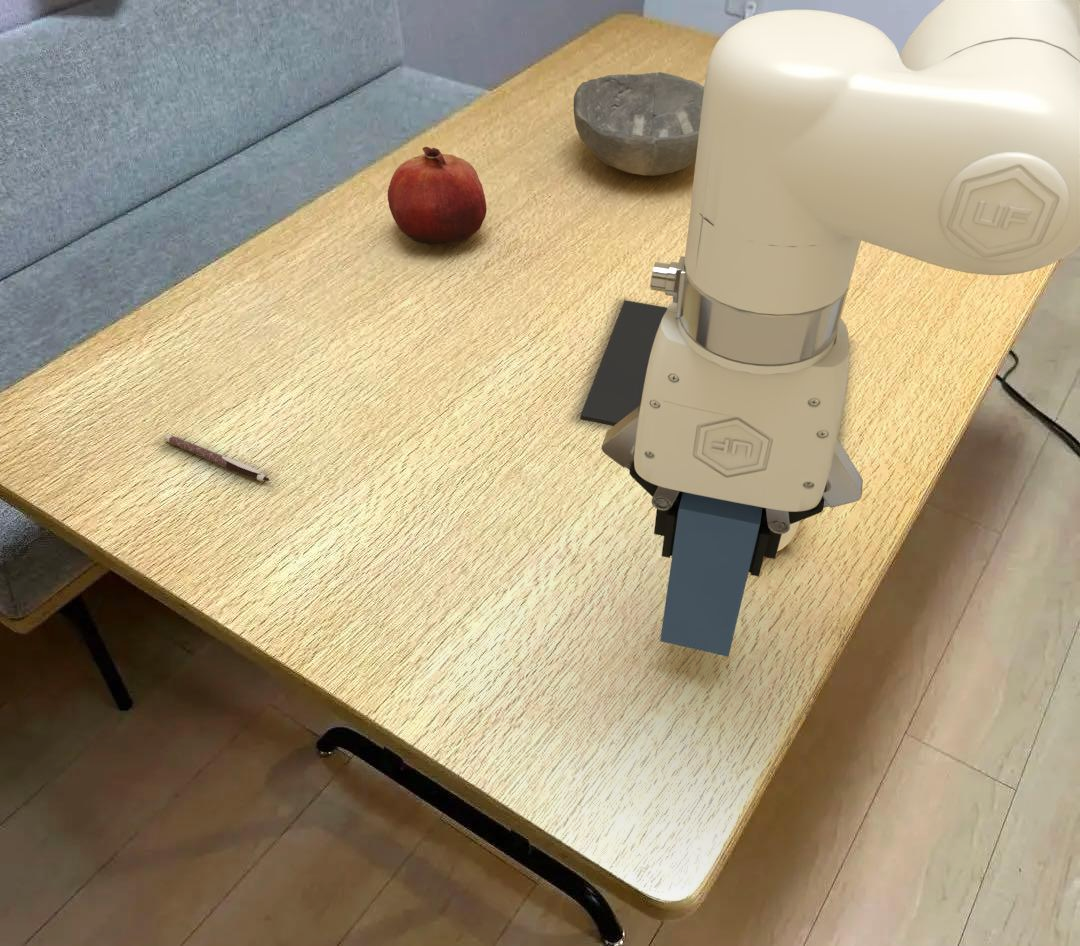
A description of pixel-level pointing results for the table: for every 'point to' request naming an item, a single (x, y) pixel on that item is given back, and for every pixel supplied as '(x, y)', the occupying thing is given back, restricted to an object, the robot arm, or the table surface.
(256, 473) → the pen
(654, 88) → the bowl
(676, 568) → the block
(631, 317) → the mat
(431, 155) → the fruit
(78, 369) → the table surface
